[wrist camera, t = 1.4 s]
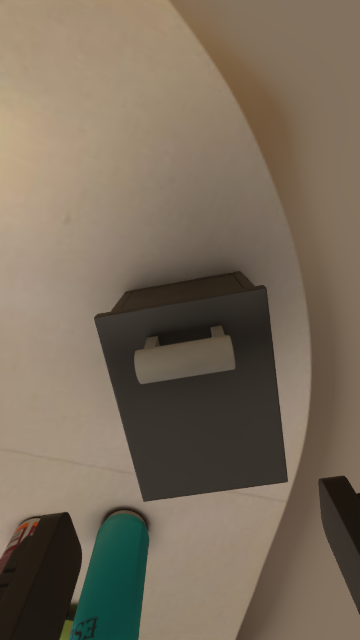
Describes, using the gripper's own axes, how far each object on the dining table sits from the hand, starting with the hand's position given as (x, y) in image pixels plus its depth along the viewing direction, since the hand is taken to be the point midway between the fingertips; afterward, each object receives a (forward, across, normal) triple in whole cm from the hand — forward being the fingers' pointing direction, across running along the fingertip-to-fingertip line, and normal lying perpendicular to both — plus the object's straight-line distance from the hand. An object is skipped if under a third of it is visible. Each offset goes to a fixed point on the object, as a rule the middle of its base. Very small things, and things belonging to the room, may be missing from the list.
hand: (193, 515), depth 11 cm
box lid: (+12, 0, +3) cm, 13 cm away
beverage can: (+22, +12, +24) cm, 34 cm away
